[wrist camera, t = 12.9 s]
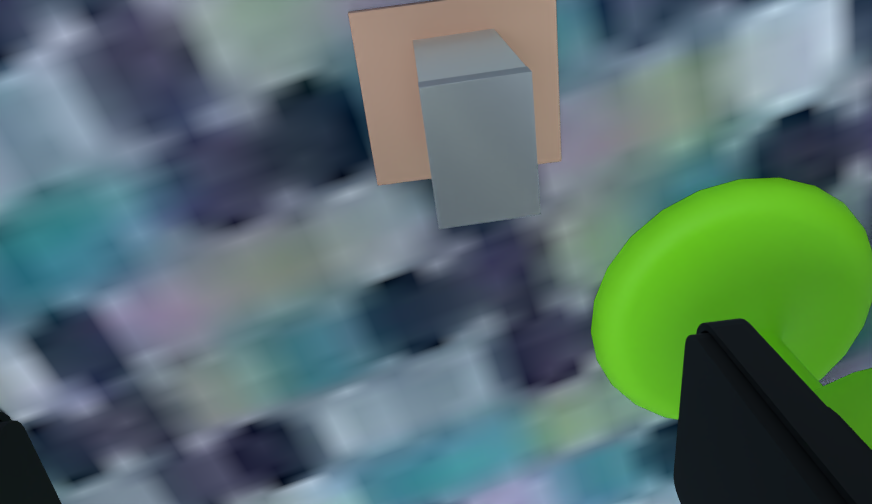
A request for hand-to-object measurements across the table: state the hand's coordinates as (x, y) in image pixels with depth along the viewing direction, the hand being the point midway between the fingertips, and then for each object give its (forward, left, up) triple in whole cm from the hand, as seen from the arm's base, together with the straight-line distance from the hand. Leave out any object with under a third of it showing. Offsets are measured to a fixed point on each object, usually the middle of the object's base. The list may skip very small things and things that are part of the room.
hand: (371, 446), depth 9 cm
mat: (-1, -3, -24) cm, 24 cm away
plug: (-1, -3, -23) cm, 23 cm away
